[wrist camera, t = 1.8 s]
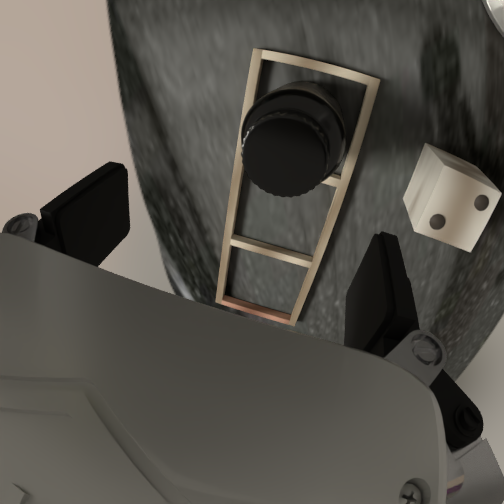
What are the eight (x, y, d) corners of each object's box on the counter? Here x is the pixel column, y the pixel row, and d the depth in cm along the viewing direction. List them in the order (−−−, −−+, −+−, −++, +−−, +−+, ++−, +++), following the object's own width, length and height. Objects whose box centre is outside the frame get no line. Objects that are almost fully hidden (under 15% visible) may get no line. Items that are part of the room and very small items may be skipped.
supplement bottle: (329, 163, 27) (321, 232, 18) (258, 139, 28) (211, 194, 18) (354, 94, 23) (366, 122, 14) (277, 70, 23) (234, 81, 14)
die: (477, 166, 23) (503, 194, 18) (452, 218, 27) (470, 254, 22) (424, 142, 23) (444, 165, 19) (402, 199, 27) (413, 232, 22)
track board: (378, 79, 21) (380, 79, 21) (295, 320, 40) (294, 326, 39) (256, 48, 23) (253, 48, 22) (218, 297, 41) (215, 302, 40)
